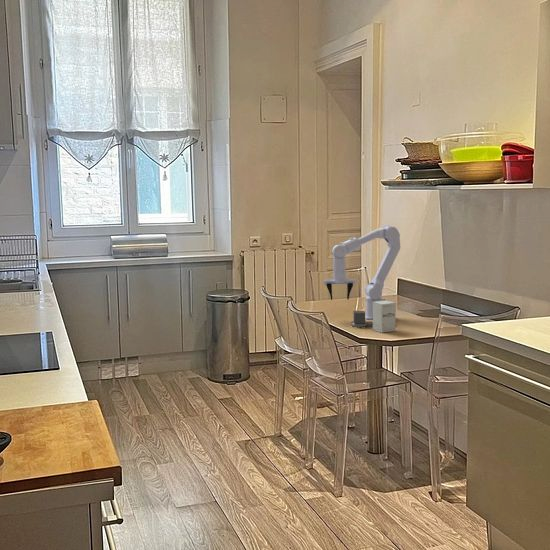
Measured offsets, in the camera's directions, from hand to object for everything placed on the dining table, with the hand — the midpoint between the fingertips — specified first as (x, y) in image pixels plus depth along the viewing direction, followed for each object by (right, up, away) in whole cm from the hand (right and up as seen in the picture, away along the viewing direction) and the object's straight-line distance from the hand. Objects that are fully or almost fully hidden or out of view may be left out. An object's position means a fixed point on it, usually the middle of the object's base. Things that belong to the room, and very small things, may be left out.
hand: (339, 299), depth 330 cm
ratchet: (+13, -11, -15) cm, 23 cm away
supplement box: (+17, -13, -25) cm, 33 cm away
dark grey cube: (+7, -10, -15) cm, 20 cm away
